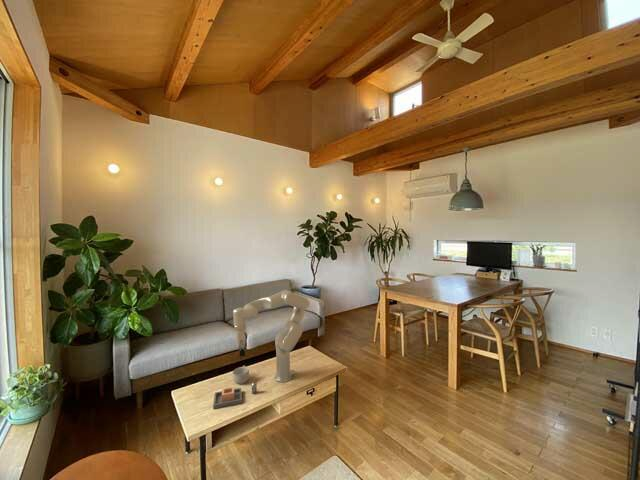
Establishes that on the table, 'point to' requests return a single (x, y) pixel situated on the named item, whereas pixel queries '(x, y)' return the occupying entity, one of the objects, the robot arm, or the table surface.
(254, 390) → the post
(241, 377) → the teacup
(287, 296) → the robot arm
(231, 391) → the pink block with knob
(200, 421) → the table surface
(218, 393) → the tray
